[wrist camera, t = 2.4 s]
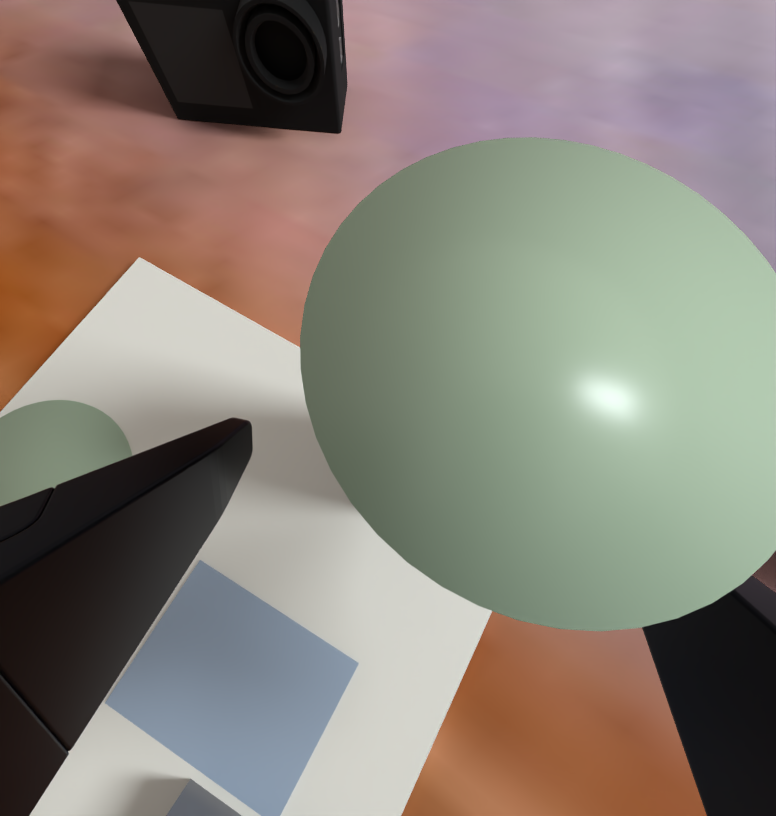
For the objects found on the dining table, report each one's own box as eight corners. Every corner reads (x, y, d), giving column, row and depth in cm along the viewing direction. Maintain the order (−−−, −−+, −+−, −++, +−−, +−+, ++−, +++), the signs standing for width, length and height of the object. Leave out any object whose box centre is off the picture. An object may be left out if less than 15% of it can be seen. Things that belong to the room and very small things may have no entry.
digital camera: (171, 135, 22) (80, -27, 15) (189, 71, 23) (114, -104, 17) (339, 150, 22) (323, -4, 15) (347, 85, 24) (337, -82, 17)
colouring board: (195, 1257, 11) (183, 1305, 10) (-327, 798, 13) (-363, 814, 13) (541, 487, 17) (548, 487, 17) (146, 264, 20) (138, 256, 19)
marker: (430, 539, 16) (740, 770, 2) (342, 487, 16) (187, 430, 3) (475, 451, 17) (867, 265, 3) (392, 404, 17) (451, 75, 4)
